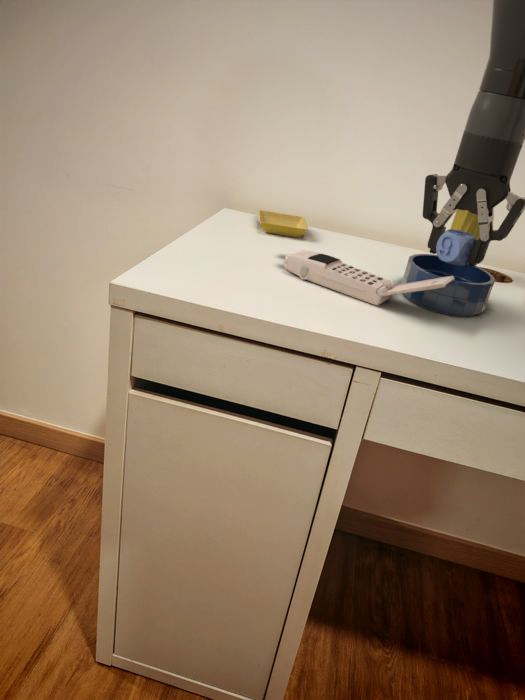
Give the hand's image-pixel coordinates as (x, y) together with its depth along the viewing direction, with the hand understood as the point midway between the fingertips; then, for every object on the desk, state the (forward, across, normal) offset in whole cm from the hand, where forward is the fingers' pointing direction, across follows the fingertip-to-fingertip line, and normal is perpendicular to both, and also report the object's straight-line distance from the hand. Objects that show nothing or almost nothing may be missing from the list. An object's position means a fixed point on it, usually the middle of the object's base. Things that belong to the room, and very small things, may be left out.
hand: (453, 258), depth 83 cm
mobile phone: (+7, -10, -9) cm, 15 cm away
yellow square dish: (+7, -33, +8) cm, 34 cm away
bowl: (+7, 0, 0) cm, 7 cm away
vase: (+7, -4, +19) cm, 21 cm away
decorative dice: (+1, 0, 0) cm, 1 cm away
